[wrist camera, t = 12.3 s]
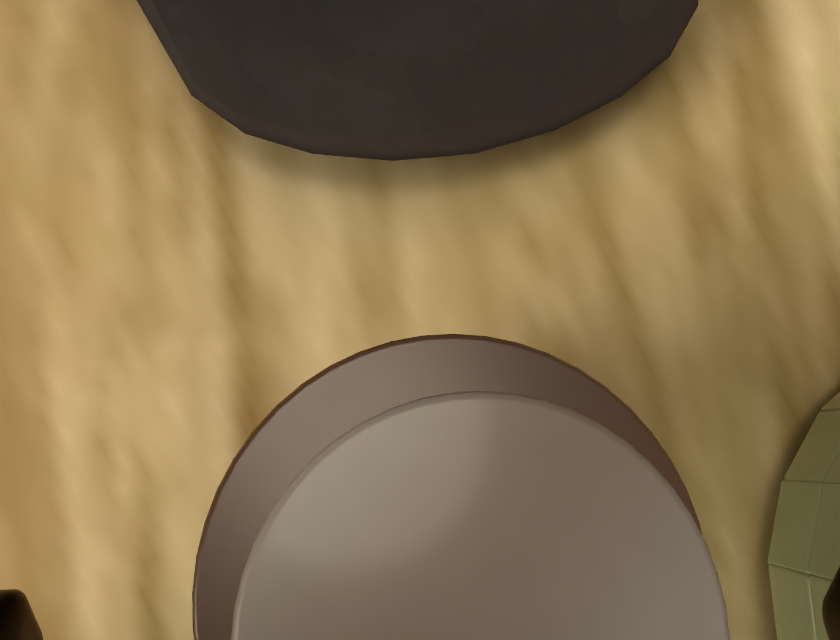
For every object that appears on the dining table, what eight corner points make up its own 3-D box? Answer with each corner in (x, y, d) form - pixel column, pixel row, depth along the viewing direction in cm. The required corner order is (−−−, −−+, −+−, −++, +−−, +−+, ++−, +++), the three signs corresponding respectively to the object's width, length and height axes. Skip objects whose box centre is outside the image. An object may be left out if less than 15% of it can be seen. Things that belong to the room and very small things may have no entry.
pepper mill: (555, 511, 18) (984, 639, 5) (411, 665, 17) (493, 1255, 4) (412, 366, 18) (478, 154, 6) (265, 511, 18) (-44, 648, 5)
